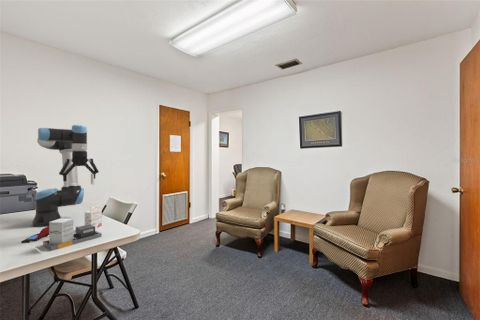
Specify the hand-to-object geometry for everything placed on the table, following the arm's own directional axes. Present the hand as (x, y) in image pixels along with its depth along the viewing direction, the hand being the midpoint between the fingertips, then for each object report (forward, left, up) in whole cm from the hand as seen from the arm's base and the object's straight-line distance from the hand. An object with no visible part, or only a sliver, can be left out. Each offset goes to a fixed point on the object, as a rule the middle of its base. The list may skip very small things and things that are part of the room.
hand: (80, 185), depth 138 cm
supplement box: (+15, -14, -28) cm, 35 cm away
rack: (+15, -9, -29) cm, 33 cm away
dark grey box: (+15, -3, -28) cm, 32 cm away
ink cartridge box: (0, +7, -29) cm, 30 cm away
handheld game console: (-7, -18, -29) cm, 35 cm away
